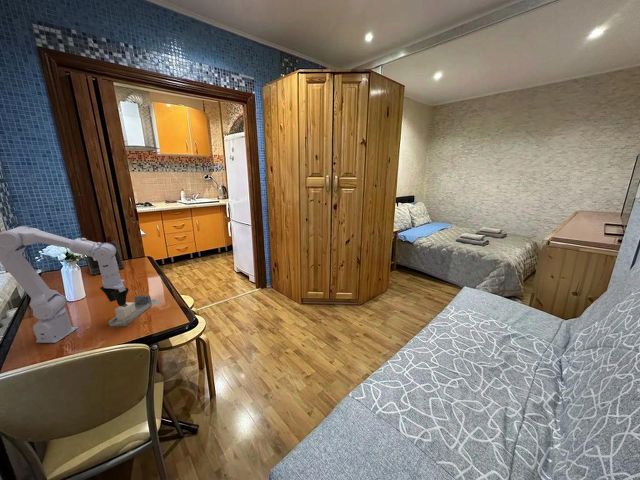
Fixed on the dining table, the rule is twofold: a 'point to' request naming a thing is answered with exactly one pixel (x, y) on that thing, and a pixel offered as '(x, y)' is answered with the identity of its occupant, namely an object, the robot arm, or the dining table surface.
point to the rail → (140, 305)
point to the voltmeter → (94, 264)
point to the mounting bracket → (155, 302)
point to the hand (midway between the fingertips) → (117, 302)
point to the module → (125, 311)
